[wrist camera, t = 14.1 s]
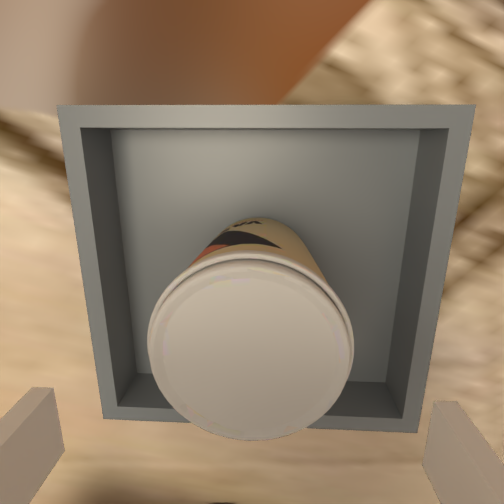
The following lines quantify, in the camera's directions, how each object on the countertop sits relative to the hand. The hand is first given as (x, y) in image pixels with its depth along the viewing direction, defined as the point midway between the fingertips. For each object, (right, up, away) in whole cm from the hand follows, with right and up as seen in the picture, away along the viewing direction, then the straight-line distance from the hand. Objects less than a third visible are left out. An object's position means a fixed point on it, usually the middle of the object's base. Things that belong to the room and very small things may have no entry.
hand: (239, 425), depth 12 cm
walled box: (+1, +5, +15) cm, 16 cm away
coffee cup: (+1, +5, +15) cm, 15 cm away
